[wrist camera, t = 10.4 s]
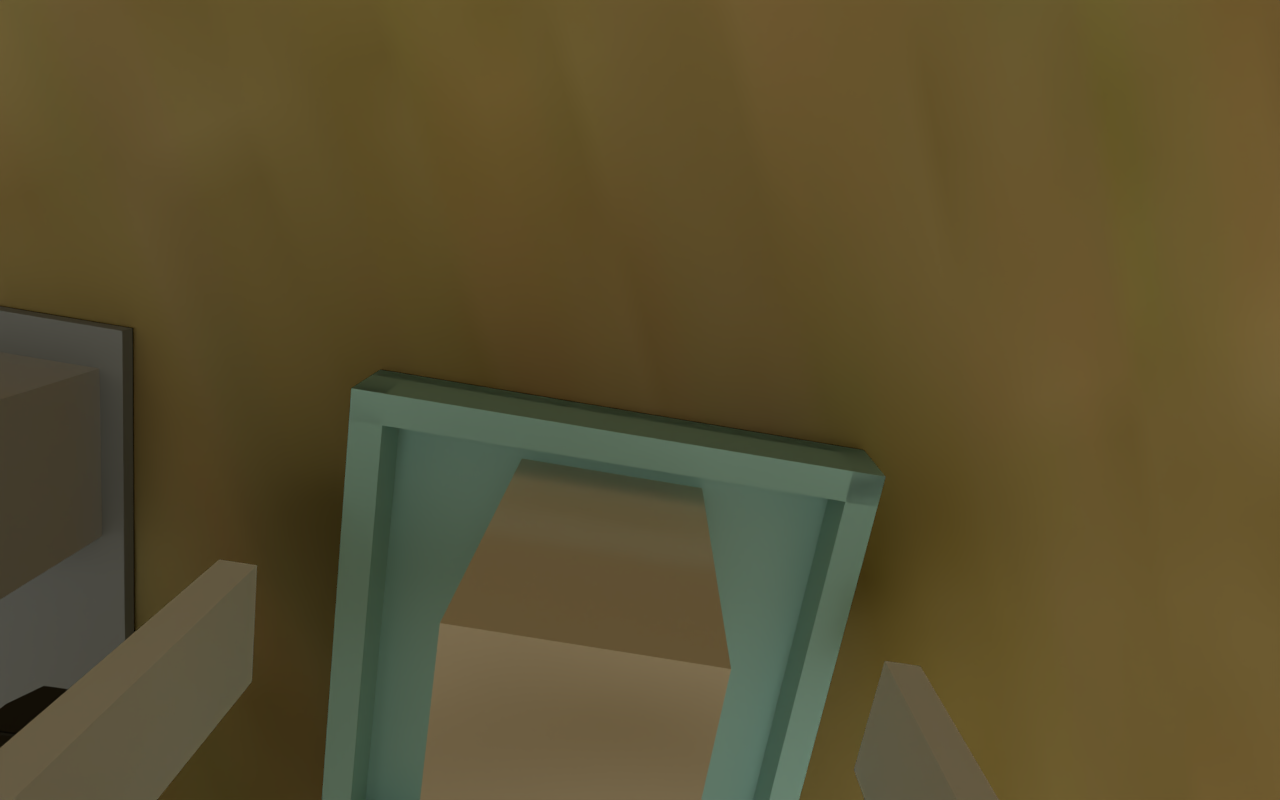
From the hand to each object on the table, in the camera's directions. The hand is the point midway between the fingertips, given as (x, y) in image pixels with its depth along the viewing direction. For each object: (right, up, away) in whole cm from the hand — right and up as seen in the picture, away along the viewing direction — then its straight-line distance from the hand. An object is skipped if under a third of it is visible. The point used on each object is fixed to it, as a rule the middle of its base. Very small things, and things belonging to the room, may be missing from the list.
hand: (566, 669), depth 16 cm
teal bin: (0, -1, +6) cm, 6 cm away
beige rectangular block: (0, +1, +5) cm, 5 cm away
